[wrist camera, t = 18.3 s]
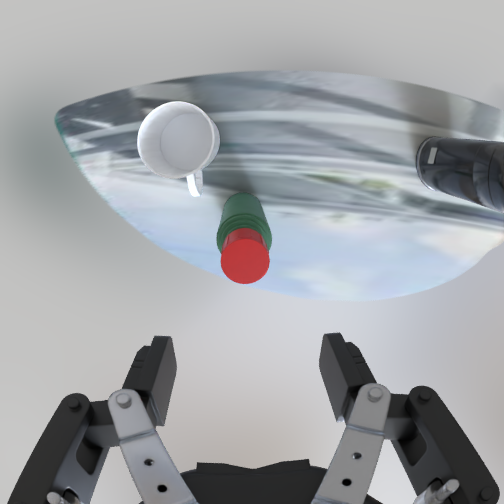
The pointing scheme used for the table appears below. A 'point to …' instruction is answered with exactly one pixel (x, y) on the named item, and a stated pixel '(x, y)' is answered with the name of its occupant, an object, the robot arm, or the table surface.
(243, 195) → the bottle
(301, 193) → the table surface
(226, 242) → the cap
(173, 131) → the mug
